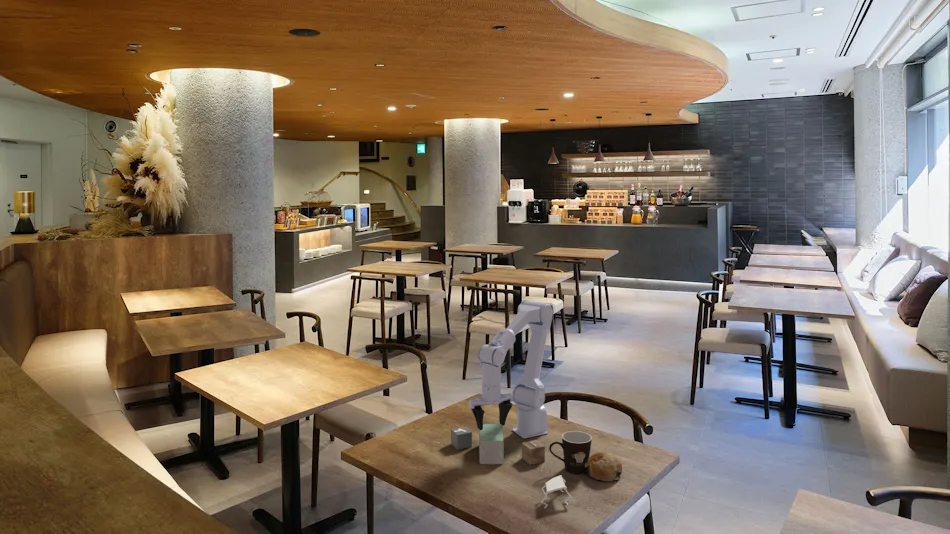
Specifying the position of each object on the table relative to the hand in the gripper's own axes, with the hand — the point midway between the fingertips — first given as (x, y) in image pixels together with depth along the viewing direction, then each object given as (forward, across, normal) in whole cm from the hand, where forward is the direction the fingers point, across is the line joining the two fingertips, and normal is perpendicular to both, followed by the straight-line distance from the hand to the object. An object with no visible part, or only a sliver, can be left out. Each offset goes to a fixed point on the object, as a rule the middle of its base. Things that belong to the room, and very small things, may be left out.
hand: (491, 426), depth 192 cm
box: (+9, 0, -1) cm, 9 cm away
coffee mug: (+9, +16, -20) cm, 27 cm away
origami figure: (+9, +3, -33) cm, 34 cm away
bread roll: (+8, +22, -27) cm, 36 cm away
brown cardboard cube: (+9, +9, -10) cm, 16 cm away
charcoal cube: (+9, -6, +9) cm, 14 cm away
